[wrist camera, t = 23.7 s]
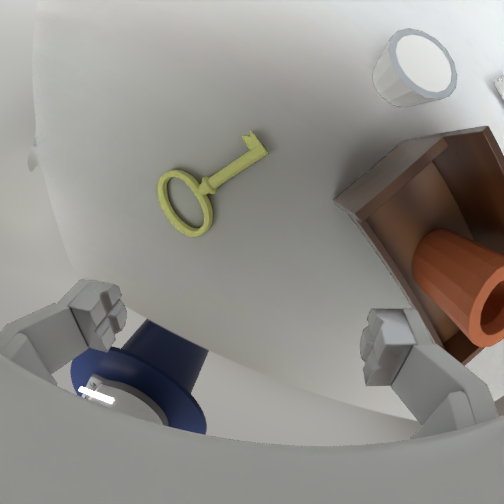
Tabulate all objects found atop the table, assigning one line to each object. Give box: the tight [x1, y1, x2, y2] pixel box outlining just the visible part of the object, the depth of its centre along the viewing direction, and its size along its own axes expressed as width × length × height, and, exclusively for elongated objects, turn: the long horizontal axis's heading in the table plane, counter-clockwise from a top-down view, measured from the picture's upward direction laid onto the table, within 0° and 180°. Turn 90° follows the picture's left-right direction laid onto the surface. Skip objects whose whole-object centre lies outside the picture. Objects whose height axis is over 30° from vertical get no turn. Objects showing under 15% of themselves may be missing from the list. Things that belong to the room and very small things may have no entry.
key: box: [157, 131, 268, 237], centre depth 26 cm, size 7×12×2 cm, turn 141°
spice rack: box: [333, 126, 504, 366], centre depth 20 cm, size 10×20×14 cm, turn 42°
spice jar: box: [412, 229, 504, 348], centre depth 17 cm, size 6×6×10 cm
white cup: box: [372, 29, 457, 107], centre depth 19 cm, size 7×7×7 cm
